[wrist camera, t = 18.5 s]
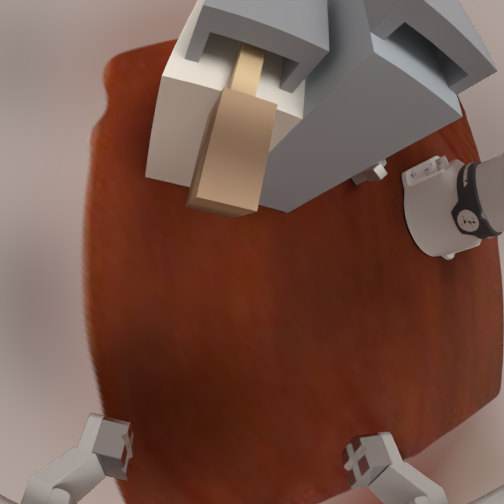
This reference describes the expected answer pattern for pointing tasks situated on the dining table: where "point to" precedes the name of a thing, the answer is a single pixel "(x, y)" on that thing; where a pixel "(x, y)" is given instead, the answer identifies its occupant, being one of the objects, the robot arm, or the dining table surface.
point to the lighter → (371, 173)
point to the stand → (319, 84)
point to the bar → (234, 143)
